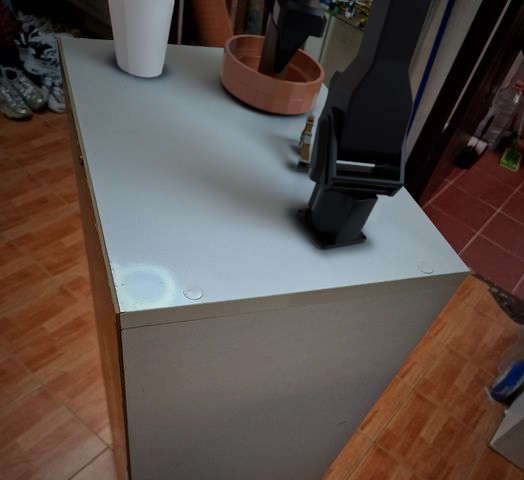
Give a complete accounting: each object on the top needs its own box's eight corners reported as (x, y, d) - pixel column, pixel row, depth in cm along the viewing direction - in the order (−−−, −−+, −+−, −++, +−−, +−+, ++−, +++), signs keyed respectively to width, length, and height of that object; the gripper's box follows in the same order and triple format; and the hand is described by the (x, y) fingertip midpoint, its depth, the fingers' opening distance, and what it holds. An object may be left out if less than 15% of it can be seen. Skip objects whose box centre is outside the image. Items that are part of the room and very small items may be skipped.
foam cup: (179, 64, 66) (187, -45, 56) (165, 89, 61) (171, -28, 50) (116, 45, 65) (114, -71, 55) (96, 68, 59) (89, -55, 49)
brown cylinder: (287, 94, 67) (305, 26, 60) (263, 93, 65) (279, 23, 58) (274, 79, 69) (290, 12, 62) (250, 79, 67) (264, 9, 60)
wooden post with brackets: (309, 134, 61) (319, 110, 57) (302, 183, 59) (312, 163, 55) (296, 130, 61) (306, 107, 56) (290, 180, 59) (299, 159, 55)
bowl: (330, 119, 68) (343, 85, 64) (246, 120, 61) (254, 82, 57) (285, 71, 75) (293, 38, 71) (204, 67, 68) (208, 30, 64)
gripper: (235, -112, 56) (216, 28, 68) (252, -76, 45) (226, 83, 57) (315, -86, 59) (283, 44, 71) (349, -46, 48) (305, 99, 60)
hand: (274, 65), depth 65 cm, fingers closed on brown cylinder, 4 cm apart
